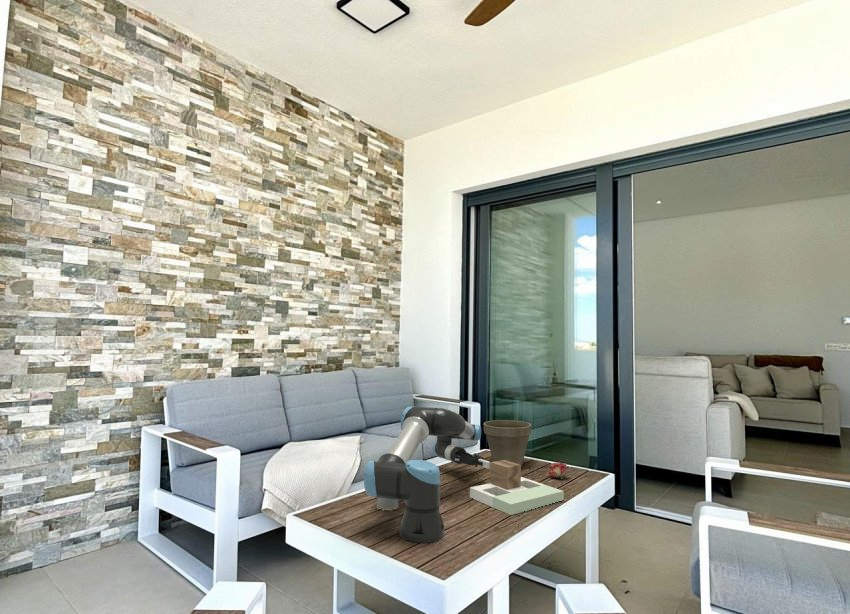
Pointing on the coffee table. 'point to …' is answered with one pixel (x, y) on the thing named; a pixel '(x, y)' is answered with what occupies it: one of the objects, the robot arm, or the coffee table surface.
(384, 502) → the glass holder
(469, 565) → the coffee table surface
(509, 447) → the plant pot
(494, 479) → the walnut block
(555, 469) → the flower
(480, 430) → the robot arm
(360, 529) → the coffee table surface
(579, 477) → the coffee table surface
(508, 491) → the box
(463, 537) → the coffee table surface
